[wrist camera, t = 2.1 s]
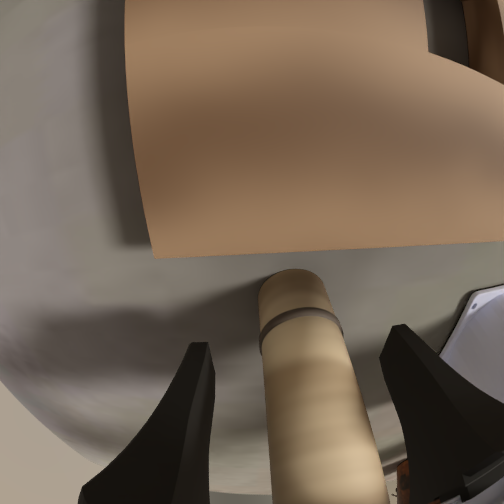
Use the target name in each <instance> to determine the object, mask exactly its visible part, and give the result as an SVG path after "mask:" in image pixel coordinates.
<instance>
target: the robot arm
mask: <svg viewBox="0 0 504 504" xmlns="http://www.w3.org/2000/svg"><path fill="white" fill-rule="evenodd" d="M379 359H380V363H381V367H382V371H383V375H384V379H385V382H386V385H387V387H388V390H389V393H390V395H391V398H392V400H393V403H394V406H395V409H396V411H397V414H398V417H399V420H400V423H401V426H402V430H403V434H404V439H405V444H406V451H407V457H408V466H409V479H410V497H409V503H410V504H428V503H431V502H433V501H436V500H438V499H440V502H441V504H504V285H503V286H498V287H494V288H489V289H485V290H480V291H476V292H474V293H473V294H472V295H471V297H470V299H469V301H468V303H467V305H466V307H465V309H464V311H463V313H462V315H461V317H460V319H459V321H458V323H457V325H456V327H455V329H454V331H453V333H452V335H451V336H450V338H449V340H448V342H447V343H446V345H445V347H444V349H443V350H442V352H441V354H440V355H439V356H438V355H437V354H436V353H435V352H434V351H433V350H432V349H431V348H430V347H429V346H428V345H427V344H426V343H425V342H424V341H423V340H422V339H421V338H420V337H419V336H418V335H416V334H415V333H414V332H413V331H412V330H411V329H410V328H409V327H408V326H407V325H406V324H401V325H395V326H392V328H391V331H390V333H389V336H388V338H387V341H386V343H385V346H384V348H383V350H382V353H381V355H380V357H379ZM214 402H215V370H214V366H213V362H212V358H211V353H210V349H209V345H208V342H192V343H191V344H189V347H188V349H187V352H186V354H185V356H184V358H183V361H182V363H181V365H180V367H179V369H178V371H177V373H176V375H175V377H174V378H173V380H172V382H171V384H170V386H169V388H168V389H167V391H166V393H165V395H164V396H163V398H162V399H161V401H160V403H159V404H158V406H157V407H156V409H155V410H154V412H153V413H152V415H151V416H150V418H149V419H148V421H147V422H146V423H145V425H144V426H143V427H142V429H141V430H140V431H139V432H138V434H137V435H136V436H135V437H134V438H133V440H132V441H131V442H130V443H129V444H128V446H127V447H126V448H125V449H124V450H123V451H122V452H121V453H120V454H119V455H118V456H117V457H116V458H115V459H114V460H113V461H112V462H111V463H110V464H109V465H108V466H107V467H106V468H104V469H103V470H102V471H101V472H100V473H99V474H97V475H96V476H95V477H94V478H92V479H91V480H90V481H89V482H87V483H86V484H85V485H83V486H82V489H81V492H80V495H79V499H78V504H210V499H209V443H210V435H211V426H212V418H213V410H214Z"/></svg>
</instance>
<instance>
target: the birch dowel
mask: <svg viewBox="0 0 504 504" xmlns="http://www.w3.org/2000/svg"><path fill="white" fill-rule="evenodd" d="M258 306H259V319H260V336H259V347H260V353H261V355H262V360H263V373H264V387H265V401H266V415H267V429H268V443H269V457H270V471H271V485H272V500H273V504H390V501H389V495H388V492H387V487H386V482H385V478H384V474H383V470H382V466H381V462H380V458H379V454H378V450H377V447H376V443H375V439H374V436H373V432H372V428H371V425H370V421H369V418H368V414H367V411H366V408H365V404H364V401H363V398H362V394H361V391H360V388H359V385H358V382H357V378H356V375H355V372H354V369H353V366H352V363H351V360H350V357H349V354H348V351H347V348H346V345H345V342H344V339H343V330H342V327H341V325H340V322H339V320H338V319H337V317H336V316H335V314H334V311H333V308H332V306H331V303H330V300H329V297H328V295H327V292H326V289H325V287H324V284H323V282H322V281H321V279H320V278H319V277H318V276H317V275H315V274H314V273H312V272H310V271H307V270H303V269H289V270H285V271H281V272H279V273H277V274H275V275H273V276H271V277H270V278H269V279H268V280H266V281H265V283H264V284H263V285H262V287H261V288H260V291H259V294H258Z"/></svg>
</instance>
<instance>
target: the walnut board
mask: <svg viewBox="0 0 504 504" xmlns="http://www.w3.org/2000/svg"><path fill="white" fill-rule="evenodd" d="M460 1H462V5H463V10H464V16H465V23H466V31H467V40H468V51H469V68H468V67H466V66H463V65H461V64H459V63H456V62H454V61H451V60H449V59H446V58H443V57H440V56H438V55H435V54H432V53H429V52H428V40H427V29H426V20H425V12H424V5H423V0H125V65H126V82H127V95H128V106H129V116H130V125H131V133H132V141H133V149H134V156H135V162H136V169H137V175H138V181H139V187H140V192H141V198H142V203H143V208H144V213H145V218H146V223H147V227H148V232H149V237H150V241H151V245H152V250H153V254H154V258H155V259H157V258H178V257H199V256H220V255H241V254H261V253H281V252H301V251H321V250H341V249H361V248H380V247H399V246H419V245H438V244H457V243H475V242H494V241H504V0H460Z"/></svg>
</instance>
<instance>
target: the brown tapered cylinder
mask: <svg viewBox="0 0 504 504" xmlns="http://www.w3.org/2000/svg"><path fill="white" fill-rule="evenodd" d="M396 492H397V495H394V494H392V495H393V496H396V497H397V504H410V503H409V497H410V479H409V466H408V460H406V461H404V462H403V463H401V464H400V465H399V466H398V467H397V488H396ZM428 504H441V502H440V499H438V500H436V501H433V502H431V503H428Z"/></svg>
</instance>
